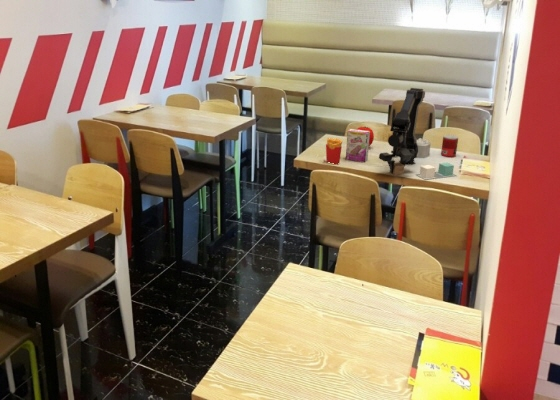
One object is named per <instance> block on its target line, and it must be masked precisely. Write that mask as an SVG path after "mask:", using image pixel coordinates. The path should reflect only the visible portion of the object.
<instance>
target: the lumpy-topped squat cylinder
mask: <svg viewBox="0 0 560 400" xmlns="http://www.w3.org/2000/svg"><path fill="white" fill-rule="evenodd" d="M417 145H418V154H417V158H419V159H427V158H428V157H429V156H430V151H431V145H432V144H431V141H430V140H428V139H426V138H421V137H420V138H418V139H417Z"/></svg>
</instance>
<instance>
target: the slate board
mask: <svg viewBox="0 0 560 400" xmlns="http://www.w3.org/2000/svg"><path fill="white" fill-rule="evenodd" d="M415 176H416V177H419V178H420V179H422V180H424V181H430V180H437V179H445V178H446V179H447V178H454V177H457V175H456V174H454V173H453V175H449V176H443V175H441V174H439V173H438V171H435V174H434V178H427V179H425V178H423V177H422V176H420V173H417V174H415Z"/></svg>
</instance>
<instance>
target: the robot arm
mask: <svg viewBox="0 0 560 400" xmlns="http://www.w3.org/2000/svg"><path fill="white" fill-rule="evenodd" d="M425 96H426V91H424V89H423V88H419V87H418V88H417V87H410V89H407V90H406V92H405V98H404V102H403V104H402V105H401V109H400V111H399V112H397V113H396V114H395V117H393V119H392V122H391V126H390V132H392V134H391V135H389V137H388V138H387V143H388V145H390V146H391V147H392V150H391V151H390V153H391V154H390V153H389V152H381V153H380V154H379V155H378V159H380V160H381V161H383V162H387V165H388V168H389V171H390V170H391V172H392V173H391V172H390V173H391V174H393V169H394V163H396V160H395V158H399V162H398V163H401V164H403V165H404V168H405V166H406V165H415V164H416V162H415V159H416V158H417V154H418V145H417V140H418V139H417V136H416V126H417V120H418V115H419V107H420V106H421V104H422V103H423V101H424V98H425Z"/></svg>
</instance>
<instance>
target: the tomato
mask: <svg viewBox="0 0 560 400" xmlns="http://www.w3.org/2000/svg"><path fill="white" fill-rule="evenodd" d="M356 130H364V131H370V136H369V147H370V146H371V145H372V144H373V143H374V139H375V134H374V131H373V129H372V128H371V127H368V126H367V127H366V126H360V127H358V128H357V129H356Z"/></svg>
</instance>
